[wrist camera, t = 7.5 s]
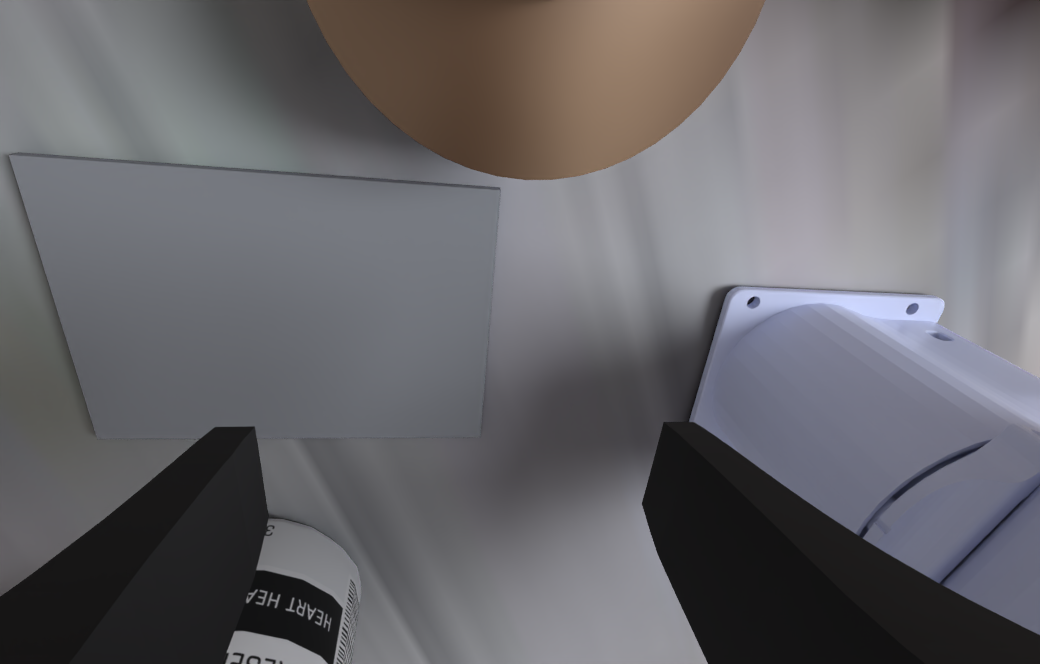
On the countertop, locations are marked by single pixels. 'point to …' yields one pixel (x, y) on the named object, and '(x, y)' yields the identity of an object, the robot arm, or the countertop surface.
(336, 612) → the supplement can
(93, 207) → the mat
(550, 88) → the lid
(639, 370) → the countertop surface
